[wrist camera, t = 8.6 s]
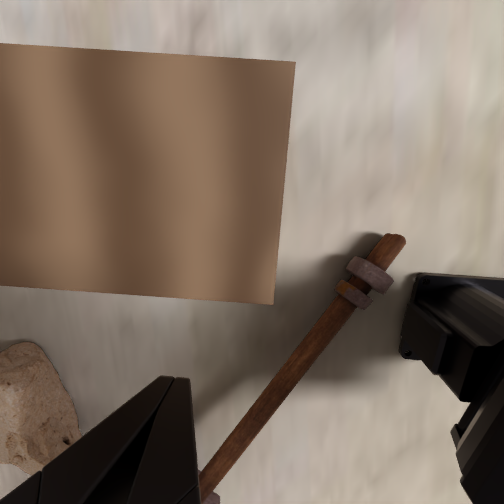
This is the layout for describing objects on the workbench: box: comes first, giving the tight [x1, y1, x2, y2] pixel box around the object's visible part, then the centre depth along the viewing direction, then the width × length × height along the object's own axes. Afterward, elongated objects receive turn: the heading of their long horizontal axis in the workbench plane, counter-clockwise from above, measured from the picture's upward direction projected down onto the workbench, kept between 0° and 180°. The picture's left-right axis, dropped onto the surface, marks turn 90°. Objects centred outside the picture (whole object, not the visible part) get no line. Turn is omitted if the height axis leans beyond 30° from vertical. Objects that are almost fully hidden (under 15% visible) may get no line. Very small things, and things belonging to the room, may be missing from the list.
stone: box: [0, 342, 81, 475], centre depth 22 cm, size 9×11×5 cm
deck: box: [0, 43, 296, 305], centre depth 17 cm, size 16×12×4 cm
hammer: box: [198, 233, 406, 504], centre depth 20 cm, size 7×33×10 cm, turn 144°
